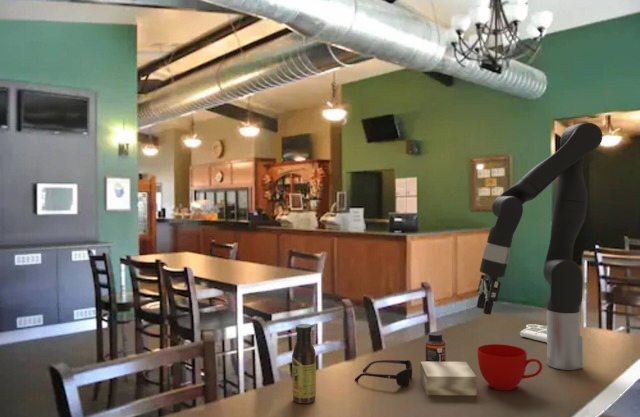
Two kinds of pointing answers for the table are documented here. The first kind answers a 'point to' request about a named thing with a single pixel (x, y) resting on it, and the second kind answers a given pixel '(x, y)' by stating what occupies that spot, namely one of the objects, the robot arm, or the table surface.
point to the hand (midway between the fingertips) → (483, 310)
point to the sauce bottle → (303, 366)
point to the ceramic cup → (504, 365)
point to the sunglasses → (401, 377)
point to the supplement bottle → (435, 348)
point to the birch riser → (448, 378)
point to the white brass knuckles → (535, 332)
